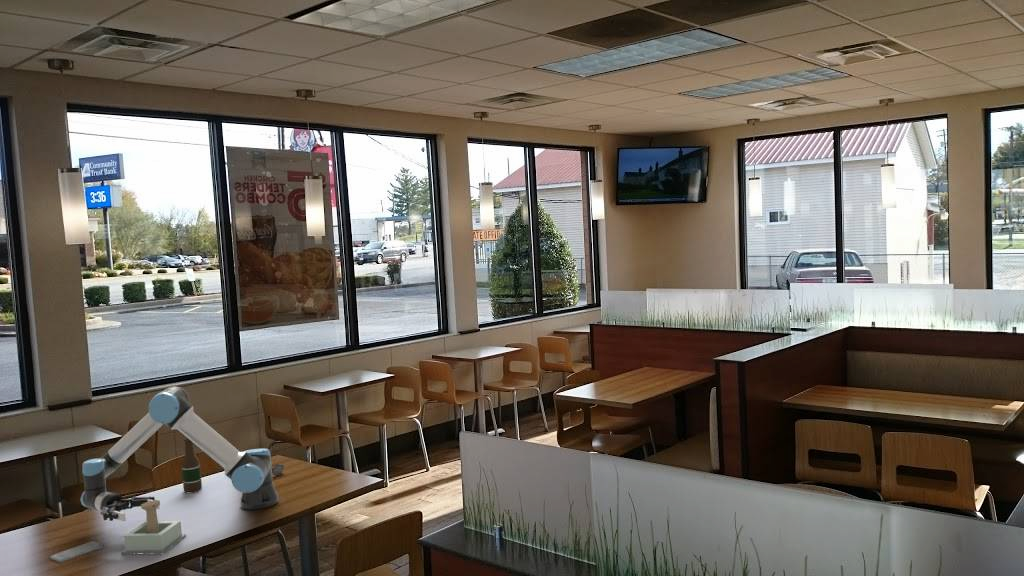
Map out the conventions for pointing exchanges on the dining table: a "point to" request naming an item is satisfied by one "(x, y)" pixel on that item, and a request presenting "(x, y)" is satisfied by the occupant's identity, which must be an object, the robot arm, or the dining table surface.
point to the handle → (151, 515)
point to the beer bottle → (191, 469)
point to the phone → (76, 551)
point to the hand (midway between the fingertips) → (141, 511)
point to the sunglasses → (277, 469)
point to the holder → (153, 538)
